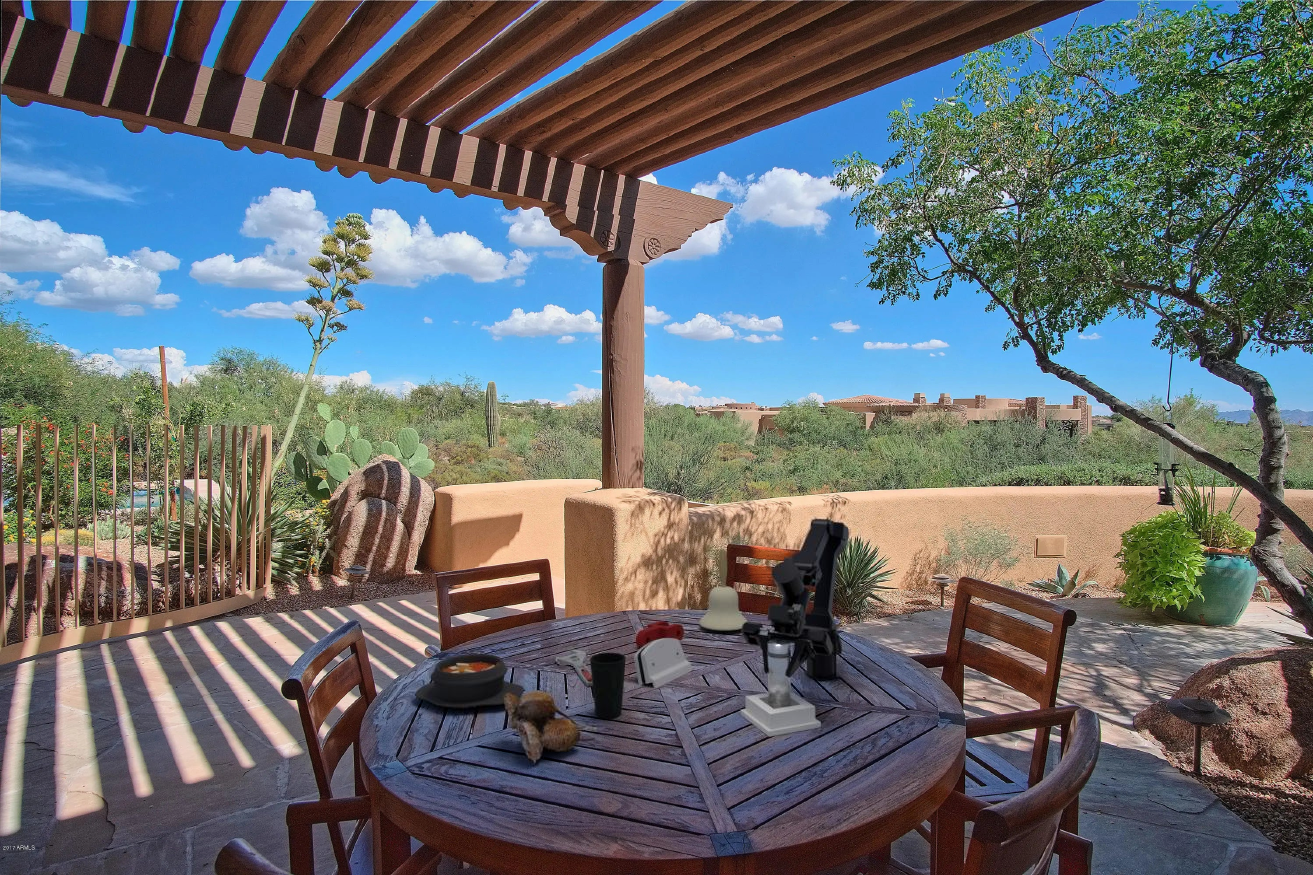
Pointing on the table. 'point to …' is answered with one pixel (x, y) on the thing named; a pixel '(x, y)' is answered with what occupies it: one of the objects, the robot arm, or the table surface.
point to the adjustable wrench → (577, 665)
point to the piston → (779, 674)
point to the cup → (608, 684)
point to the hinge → (661, 662)
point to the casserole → (468, 682)
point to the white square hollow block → (780, 715)
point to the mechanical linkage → (659, 633)
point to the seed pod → (541, 723)
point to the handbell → (723, 604)
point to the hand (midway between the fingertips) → (776, 674)
